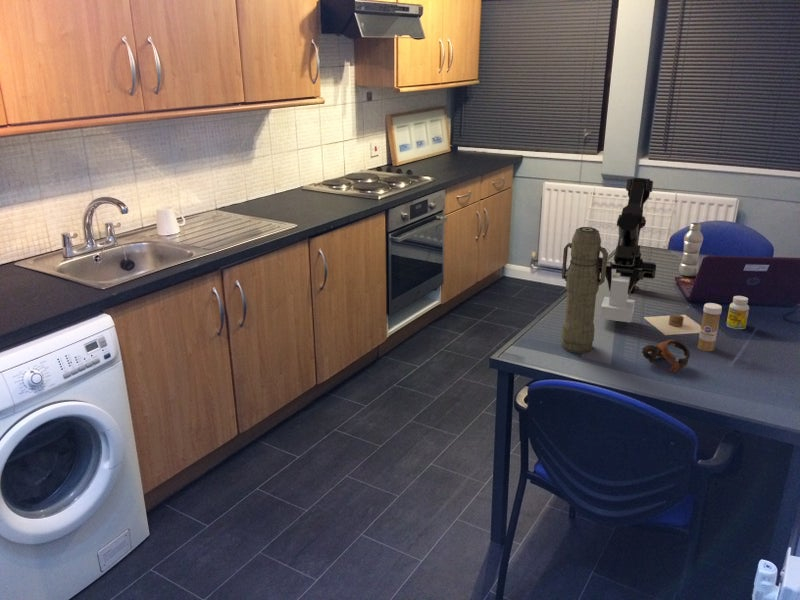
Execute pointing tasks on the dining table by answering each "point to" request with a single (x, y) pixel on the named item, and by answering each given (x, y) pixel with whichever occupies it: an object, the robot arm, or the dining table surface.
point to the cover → (618, 301)
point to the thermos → (582, 288)
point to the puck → (676, 320)
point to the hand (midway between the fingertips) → (619, 292)
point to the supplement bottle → (738, 313)
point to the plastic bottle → (691, 250)
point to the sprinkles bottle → (709, 326)
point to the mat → (666, 329)
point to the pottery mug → (667, 354)
